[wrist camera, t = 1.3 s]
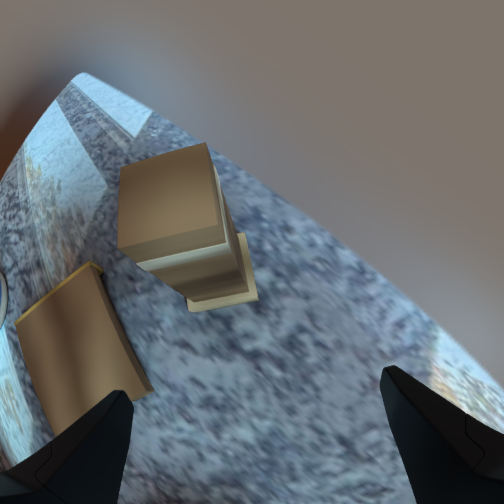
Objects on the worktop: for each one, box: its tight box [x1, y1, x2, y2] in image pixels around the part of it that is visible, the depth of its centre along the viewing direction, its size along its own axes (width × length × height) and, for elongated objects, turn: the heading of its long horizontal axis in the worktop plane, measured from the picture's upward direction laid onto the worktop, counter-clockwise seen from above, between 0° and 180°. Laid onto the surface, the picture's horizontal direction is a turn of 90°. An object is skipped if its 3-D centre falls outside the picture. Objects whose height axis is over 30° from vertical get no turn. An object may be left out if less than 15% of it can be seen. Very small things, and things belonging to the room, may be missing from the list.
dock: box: [14, 261, 154, 436], centre depth 21 cm, size 12×12×2 cm
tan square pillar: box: [118, 142, 259, 313], centre depth 18 cm, size 6×6×13 cm
